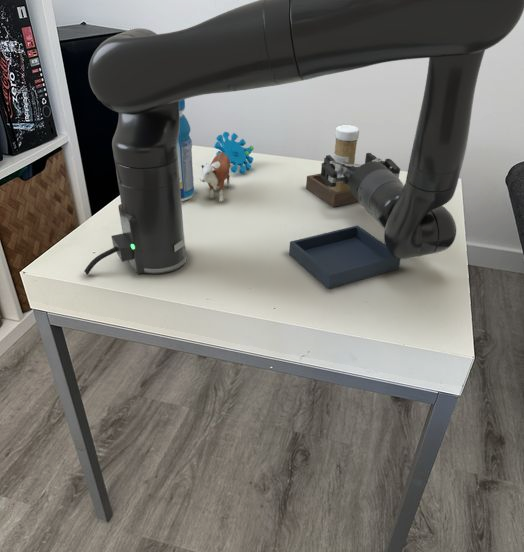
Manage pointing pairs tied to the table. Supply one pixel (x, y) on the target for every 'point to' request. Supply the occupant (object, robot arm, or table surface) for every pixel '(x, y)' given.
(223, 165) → the bull figurine
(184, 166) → the beverage bottle
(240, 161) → the blue virus toy
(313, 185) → the open box
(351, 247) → the tray
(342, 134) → the sprinkles bottle
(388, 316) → the table surface
